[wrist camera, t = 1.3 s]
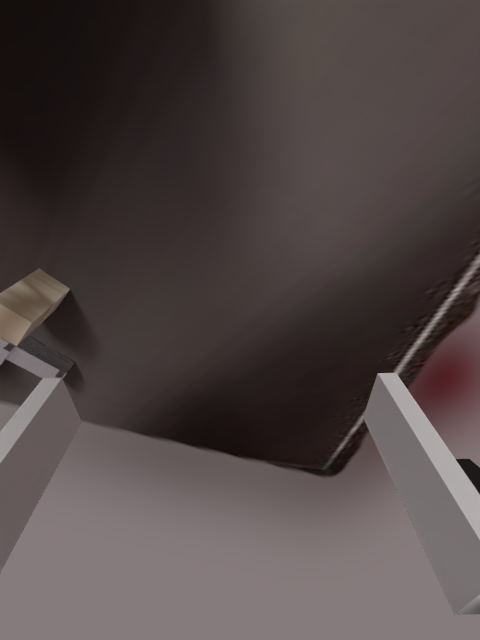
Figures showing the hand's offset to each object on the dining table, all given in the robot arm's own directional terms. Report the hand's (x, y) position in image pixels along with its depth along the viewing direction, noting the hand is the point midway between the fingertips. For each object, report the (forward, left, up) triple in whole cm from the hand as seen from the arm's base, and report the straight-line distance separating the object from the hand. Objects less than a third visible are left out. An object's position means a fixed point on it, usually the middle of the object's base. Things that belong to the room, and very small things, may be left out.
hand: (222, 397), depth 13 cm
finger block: (-12, -20, -24) cm, 34 cm away
